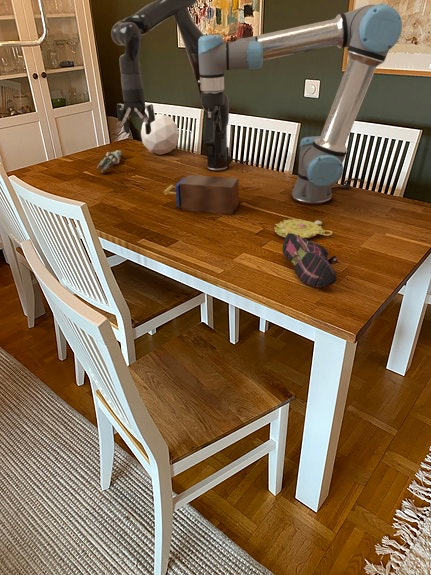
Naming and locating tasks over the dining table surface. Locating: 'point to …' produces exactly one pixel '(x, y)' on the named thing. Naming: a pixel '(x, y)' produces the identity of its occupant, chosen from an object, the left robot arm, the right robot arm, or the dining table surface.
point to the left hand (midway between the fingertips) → (137, 133)
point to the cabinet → (209, 194)
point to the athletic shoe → (309, 261)
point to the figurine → (110, 160)
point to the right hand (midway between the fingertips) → (214, 158)
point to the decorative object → (300, 228)
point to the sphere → (160, 135)
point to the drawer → (178, 195)
